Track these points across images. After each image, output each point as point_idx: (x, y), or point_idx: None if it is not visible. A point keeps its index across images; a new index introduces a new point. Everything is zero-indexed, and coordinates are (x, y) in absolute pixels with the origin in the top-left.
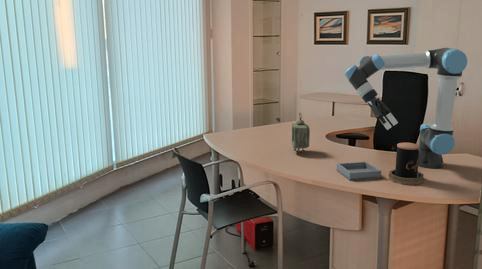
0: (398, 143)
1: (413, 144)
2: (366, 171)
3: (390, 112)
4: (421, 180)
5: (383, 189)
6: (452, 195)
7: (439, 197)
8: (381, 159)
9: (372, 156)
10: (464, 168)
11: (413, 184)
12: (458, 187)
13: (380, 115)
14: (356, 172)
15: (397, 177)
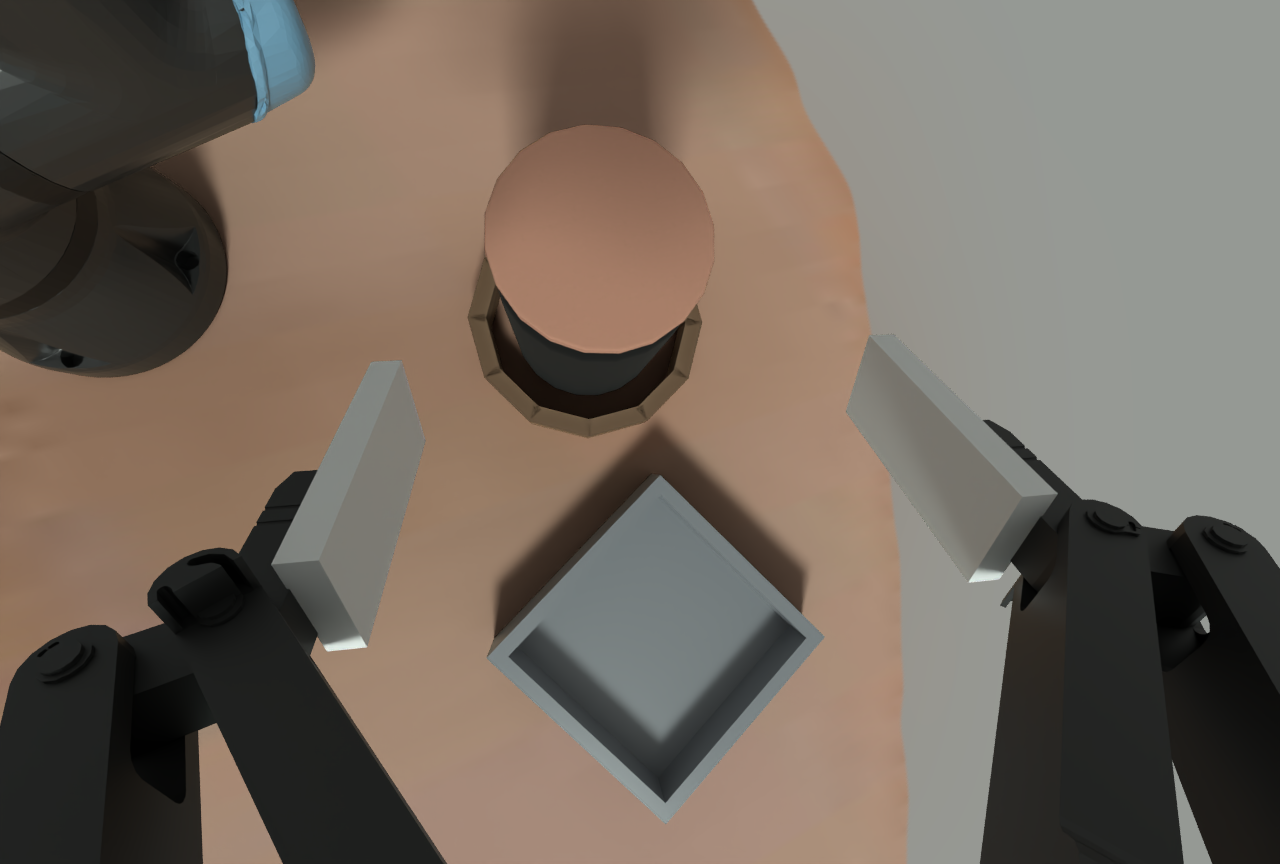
0: (586, 346)
1: (542, 193)
2: (731, 555)
3: (274, 563)
4: None
5: (836, 392)
6: (724, 43)
7: (793, 100)
8: None
9: None
10: None
11: None
12: (566, 25)
13: (1236, 527)
14: (789, 604)
15: (694, 349)
